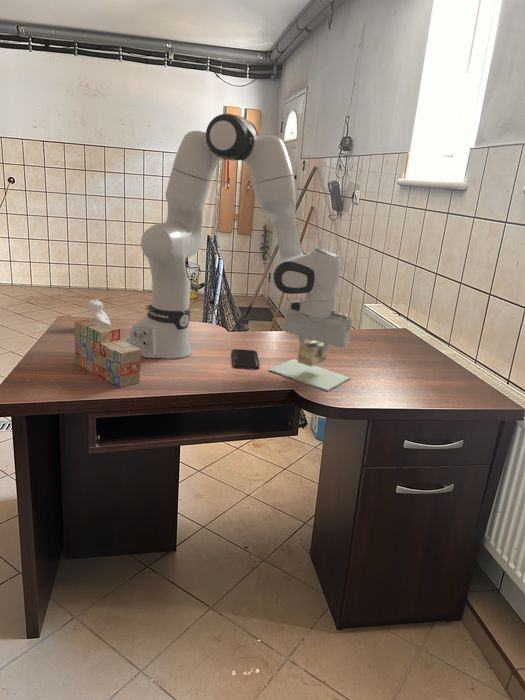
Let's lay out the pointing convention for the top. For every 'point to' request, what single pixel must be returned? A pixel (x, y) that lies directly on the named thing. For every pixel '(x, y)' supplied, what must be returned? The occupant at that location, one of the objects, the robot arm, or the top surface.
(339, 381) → the rubber mat
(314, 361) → the maple block
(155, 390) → the top surface
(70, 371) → the top surface
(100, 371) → the stack of blocks
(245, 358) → the phone
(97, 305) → the bust
